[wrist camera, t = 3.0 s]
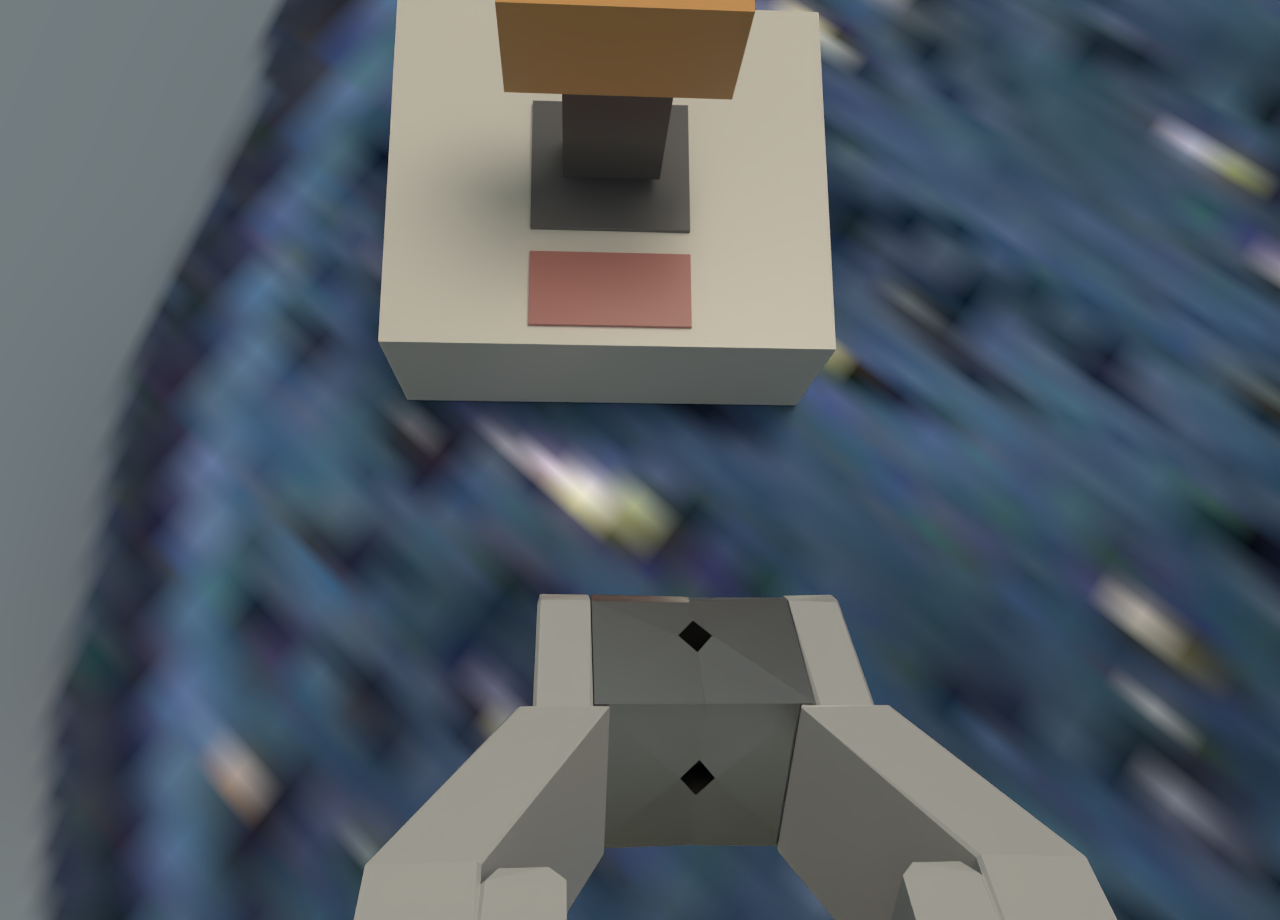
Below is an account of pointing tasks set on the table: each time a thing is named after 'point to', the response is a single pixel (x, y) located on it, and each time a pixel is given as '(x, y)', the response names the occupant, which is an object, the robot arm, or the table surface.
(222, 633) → the table surface
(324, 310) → the table surface
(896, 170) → the table surface
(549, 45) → the lever
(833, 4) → the table surface
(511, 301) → the block
